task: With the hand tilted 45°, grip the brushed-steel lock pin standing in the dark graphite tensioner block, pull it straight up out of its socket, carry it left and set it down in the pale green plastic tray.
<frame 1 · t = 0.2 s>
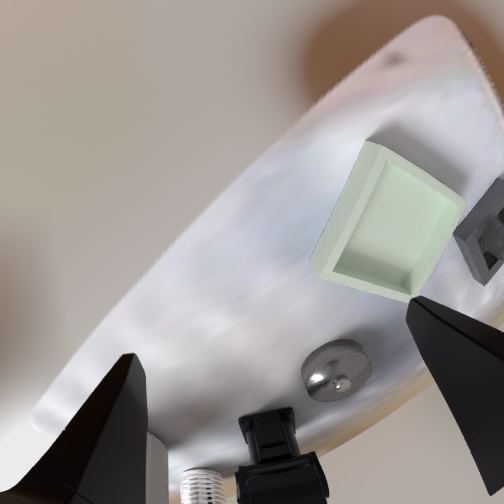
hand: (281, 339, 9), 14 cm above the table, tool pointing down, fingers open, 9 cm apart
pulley: (332, 364, 31), on the table
tensioner block: (486, 230, 27), on the table
tray: (387, 224, 25), on the table
jar: (132, 440, 34), on the table
water bottle: (201, 474, 40), on the table
lock pin: (486, 230, 27), resting in tensioner block
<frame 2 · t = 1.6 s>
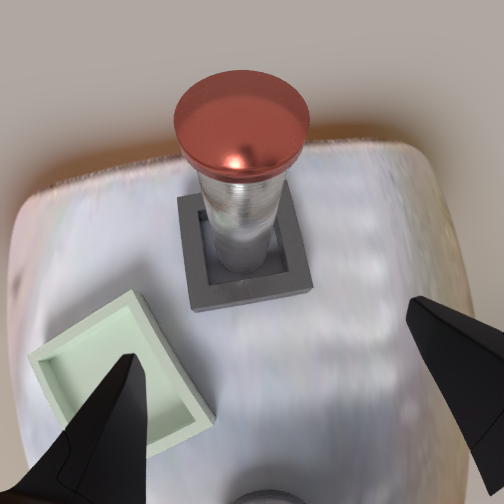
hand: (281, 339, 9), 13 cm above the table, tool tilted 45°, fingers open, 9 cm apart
tensioner block: (241, 248, 24), on the table
tray: (120, 388, 21), on the table
lock pin: (241, 248, 24), resting in tensioner block
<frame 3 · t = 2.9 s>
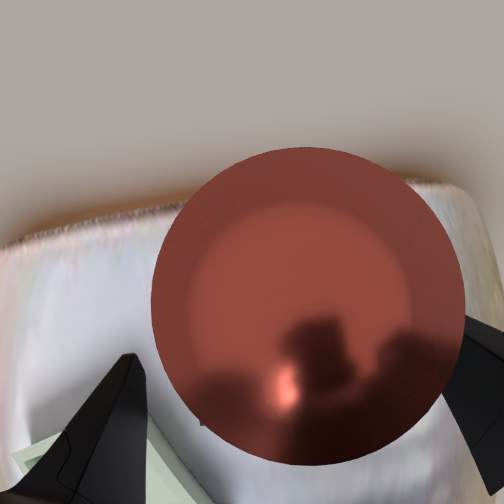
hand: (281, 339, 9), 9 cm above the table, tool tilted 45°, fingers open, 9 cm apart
tray: (121, 492, 15), on the table
lock pin: (261, 339, 18), resting in tensioner block
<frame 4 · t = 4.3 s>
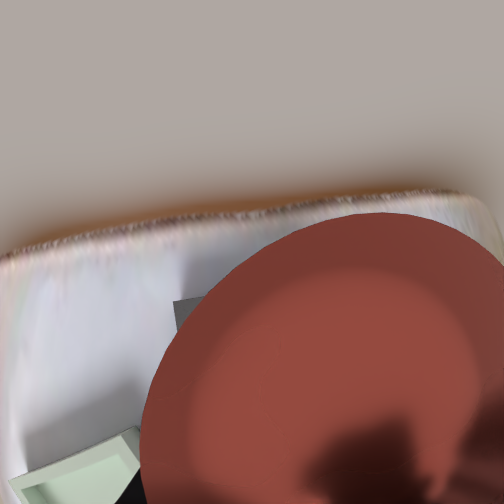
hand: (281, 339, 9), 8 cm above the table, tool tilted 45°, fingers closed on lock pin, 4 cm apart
tensioner block: (269, 368, 16), on the table
lock pin: (269, 368, 16), resting in tensioner block, touching gripper
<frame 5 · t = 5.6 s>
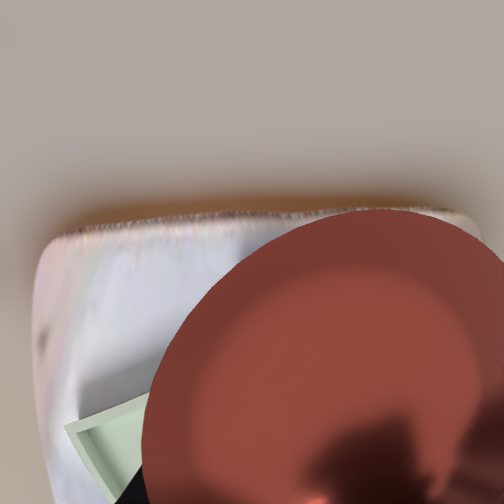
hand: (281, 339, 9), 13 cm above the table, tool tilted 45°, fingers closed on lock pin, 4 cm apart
tray: (164, 459, 19), on the table
lock pin: (269, 367, 16), point 5 cm above the table, touching gripper
when the fingers open (10 cm above the table, at t = 7.3 s): lock pin drops 1 cm, resting on tray.
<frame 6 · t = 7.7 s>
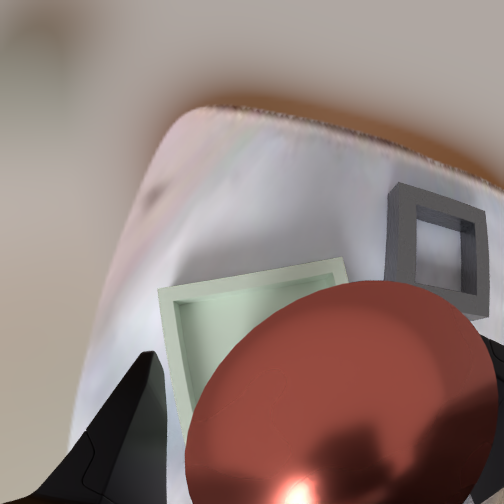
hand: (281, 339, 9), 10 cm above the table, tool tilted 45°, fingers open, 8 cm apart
tensioner block: (434, 258, 21), on the table
tray: (266, 366, 18), on the table
lock pin: (268, 368, 18), point 1 cm above the table, touching tray
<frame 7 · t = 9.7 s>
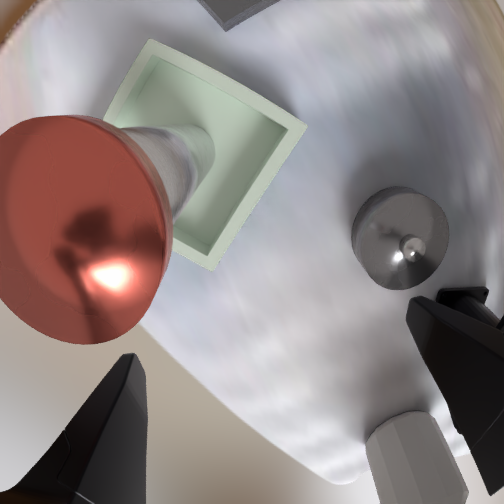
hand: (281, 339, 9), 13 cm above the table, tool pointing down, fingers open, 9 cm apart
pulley: (394, 232, 22), on the table
tray: (185, 151, 19), on the table
jar: (397, 429, 33), on the table
lock pin: (185, 153, 19), point 1 cm above the table, touching tray
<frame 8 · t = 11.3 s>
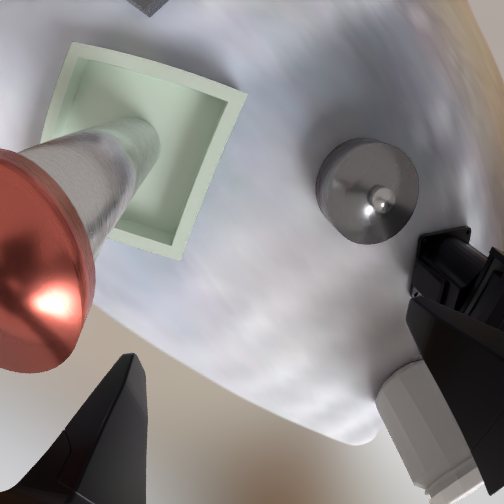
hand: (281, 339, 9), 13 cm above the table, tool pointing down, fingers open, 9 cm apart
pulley: (361, 185, 22), on the table
tray: (131, 145, 18), on the table
jar: (404, 381, 35), on the table
lock pin: (129, 147, 17), point 1 cm above the table, touching tray
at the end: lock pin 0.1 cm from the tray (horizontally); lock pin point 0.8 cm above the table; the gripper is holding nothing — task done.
